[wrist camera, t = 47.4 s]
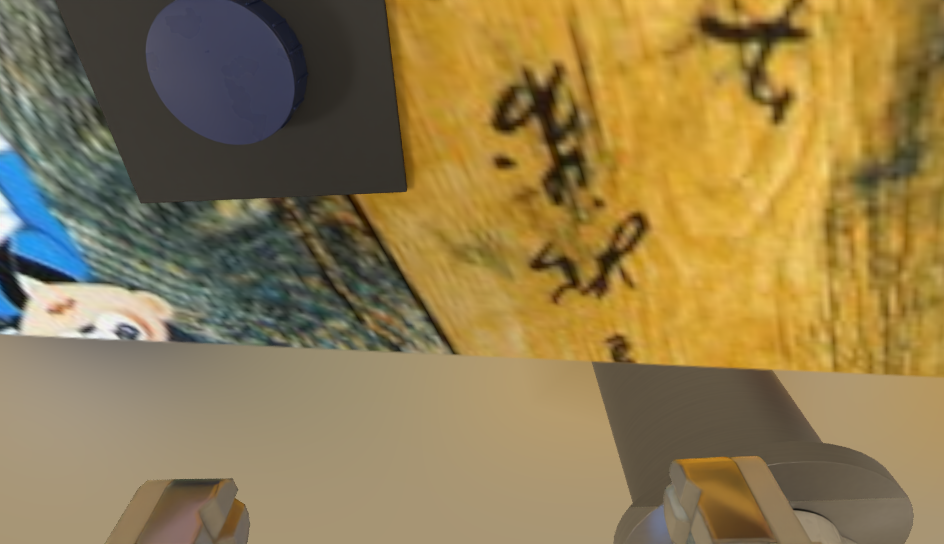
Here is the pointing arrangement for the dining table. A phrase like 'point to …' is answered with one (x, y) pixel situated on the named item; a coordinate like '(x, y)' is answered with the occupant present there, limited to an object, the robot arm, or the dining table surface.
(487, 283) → the dining table surface
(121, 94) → the mat
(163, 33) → the lid
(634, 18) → the dining table surface
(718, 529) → the robot arm
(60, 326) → the dining table surface
